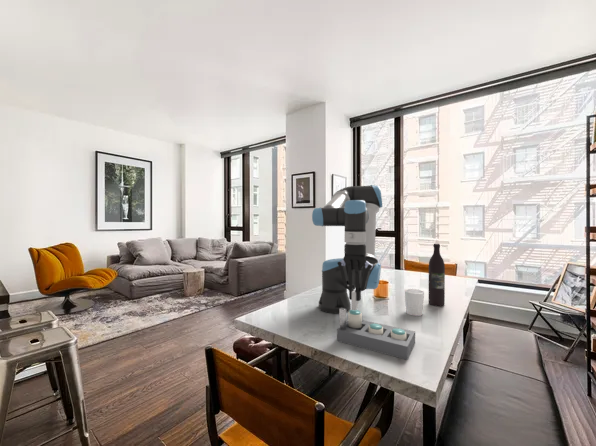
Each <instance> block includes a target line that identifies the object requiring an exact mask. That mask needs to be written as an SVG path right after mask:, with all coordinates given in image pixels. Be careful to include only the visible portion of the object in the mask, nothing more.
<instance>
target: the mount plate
mask: <svg viewBox="0 0 596 446" xmlns="http://www.w3.org/2000/svg"><path fill="white" fill-rule="evenodd" d="M370 324H379V325H381V326H382V327H383V335H377V334H373V333H369V325H370ZM396 328H397V329H402V330H404V331H405V332H406V341H403V340H399V339H394V338H391V330H392V329H396ZM336 341H337V342H339V343H344V344H349V345H351V346H355V347H358V348H362V349H366V350H370V351H373V352H378V353H381V354H383V355H388V356H391V357H396V358H399V359H402V360H406V361H408V360H409V358H410V355H411V353H412V351H413V349H414V346H415V344H416V330H415V331H414V330H411V329H410V330H409V329H407V328H402V327H396V326H391V325H387V324H382V323H378V322H372V321H370V320H369V321H368V320H365V319H362V327H361V328H351V327H349V326H348V320H346V330H340V329H339V327H338V328H337V329H336Z"/></svg>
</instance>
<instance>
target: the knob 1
mask: <svg viewBox="0 0 596 446" xmlns="http://www.w3.org/2000/svg"><path fill="white" fill-rule="evenodd" d="M362 320H363V313H362V312H361V311H360V310H359V309H357V310H356V311H355V310H352V309H350V311H348V312H347V321H348V326H349V327H351V328H361V327H362Z"/></svg>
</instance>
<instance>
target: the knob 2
mask: <svg viewBox="0 0 596 446" xmlns="http://www.w3.org/2000/svg"><path fill="white" fill-rule="evenodd" d="M397 328H398V327H397ZM397 328H396V329H392V330H391V338H394V339H399V340H403V341H406V332H405V331H404V330H402V329H403V328H402V329H397Z"/></svg>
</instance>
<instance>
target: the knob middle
mask: <svg viewBox="0 0 596 446" xmlns="http://www.w3.org/2000/svg"><path fill="white" fill-rule="evenodd" d="M379 324H380V323H379ZM379 324H370V325H369V333H373V334H377V335H383V327H382V326H381V325H379Z"/></svg>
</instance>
